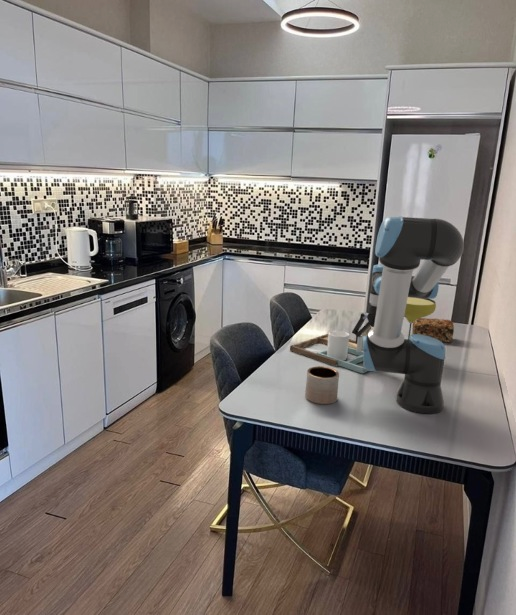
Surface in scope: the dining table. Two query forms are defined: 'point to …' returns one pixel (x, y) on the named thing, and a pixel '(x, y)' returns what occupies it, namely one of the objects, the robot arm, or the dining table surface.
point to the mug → (338, 344)
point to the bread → (434, 328)
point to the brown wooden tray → (298, 349)
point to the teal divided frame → (350, 363)
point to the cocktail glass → (418, 309)
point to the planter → (322, 385)
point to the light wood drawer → (354, 343)
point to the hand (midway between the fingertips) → (373, 356)
